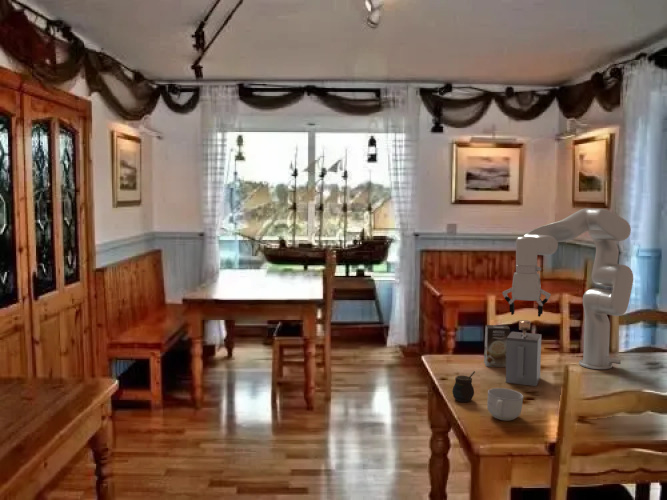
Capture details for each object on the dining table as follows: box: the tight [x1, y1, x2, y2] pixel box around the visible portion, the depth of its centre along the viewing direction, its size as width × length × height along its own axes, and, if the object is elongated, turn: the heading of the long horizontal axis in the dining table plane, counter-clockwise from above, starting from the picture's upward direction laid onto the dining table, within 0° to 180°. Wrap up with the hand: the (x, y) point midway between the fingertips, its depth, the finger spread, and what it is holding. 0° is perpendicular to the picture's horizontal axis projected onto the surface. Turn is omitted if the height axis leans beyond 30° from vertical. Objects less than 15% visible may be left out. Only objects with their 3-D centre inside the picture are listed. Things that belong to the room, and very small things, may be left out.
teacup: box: [486, 387, 524, 422], centre depth 195 cm, size 14×11×8 cm
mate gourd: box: [451, 371, 476, 403], centre depth 212 cm, size 7×8×10 cm
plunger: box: [518, 320, 531, 337], centre depth 234 cm, size 9×9×17 cm
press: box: [505, 331, 542, 387], centre depth 233 cm, size 11×14×17 cm
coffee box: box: [483, 324, 511, 368], centre depth 255 cm, size 9×6×16 cm
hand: (525, 315), depth 233 cm, fingers open, 9 cm apart
